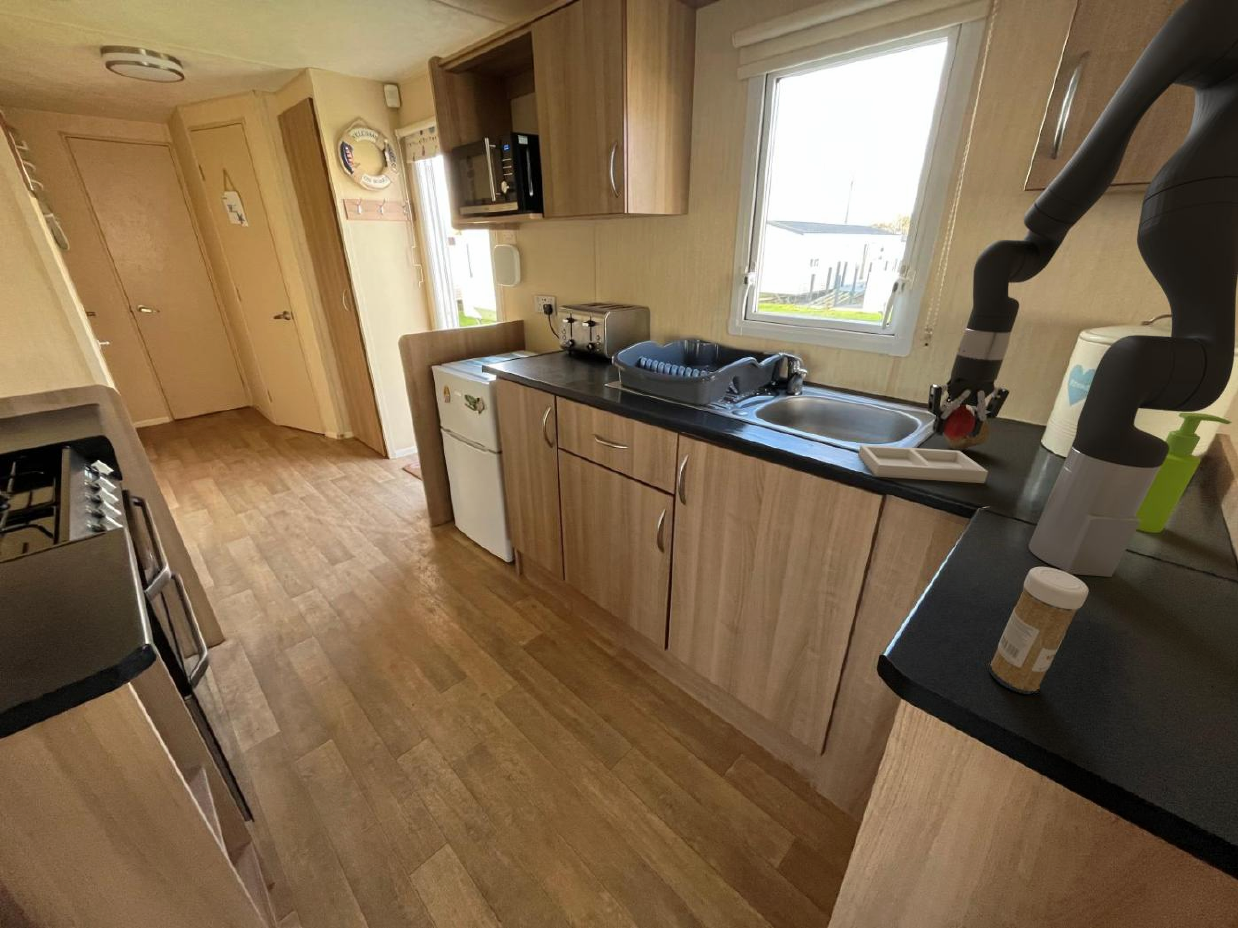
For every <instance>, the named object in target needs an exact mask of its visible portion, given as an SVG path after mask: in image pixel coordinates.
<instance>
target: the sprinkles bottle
mask: <svg viewBox="0 0 1238 928" xmlns="http://www.w3.org/2000/svg"><path fill="white" fill-rule="evenodd" d="M1024 579H1025V580H1024V582H1023V587H1022V592H1021V594H1020V597H1019V599H1018V601H1017V602H1016V605H1015V607H1013V610H1012V613H1011V615H1010V617H1009V619H1008V622H1007V624H1006V626H1005V628H1004V630H1003V632H1002V635H1001V638H1000V640H999V642H998V646H997V650H996V651H995V654H994V656H993V658H992V661H991V664H990V663H989V664H990V665H991V667H992V670H993V671H994V673H995V674H997V676H998V677H1000V678H1001V679H1002V680H1003V681H1005V682H1006V683H1009V685H1011V686H1013V687H1015V688H1017V689H1021V690H1025V691H1026V690H1027V691H1029V692H1030V691H1036V690H1037V689H1039V690H1040V688H1041V686H1039V685H1041V683H1042V681H1043V678H1044V676H1045V675H1046V673H1047V670H1048V669H1050V667H1051V664H1052V663H1053V660H1054V658H1055V656H1056V654H1057V652H1058V650H1059V647H1060V646H1061V644H1062V642H1063V640H1064V638H1065V635H1066V632H1067V631H1068V628H1069V626H1070V624H1071V623H1072V621H1073V618H1074V616H1075V615H1076V612H1077V611H1078V610H1079V609H1081V607H1083V605H1084V603H1085V601H1086V599H1087V597H1088V595H1089V587H1088V586H1087V585H1086V583H1085V582H1084V581H1082V580H1081V579H1080V578H1078V577H1076V576H1074V574H1068V573H1066V572H1064V571H1063V570H1061V569H1057V568H1055V567H1054V568H1053V567H1047V566H1037V567H1033V568H1031V569H1030V570H1029V571H1028V572H1027V575H1026V577H1025V578H1024Z"/></svg>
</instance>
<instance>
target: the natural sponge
mask: <svg viewBox="0 0 1238 928" xmlns="http://www.w3.org/2000/svg"><path fill="white" fill-rule="evenodd" d="M967 409H968V410H970V411H971V412H972V414H973V410H972V408H967ZM990 433H991V432H990V427H989V422H988V420H987V419H986V420H984V421H983V424H982V427H981V430H980V433H979V434H978V435H976V437H975V438H971V437H969V436H967V435H966V436H964V437H962V438H959V439H956V440H950V439H949V438H948V437H947V436H946V435H945V434H944V437H945V440H946V442H947V444H948V446H949V447H950V448H951V450H955V451H963V450H966V449H968V448H970V447H977V446H980V445H982V444H984V443H985V442H987V441H988V439H989V437H990V435H991V434H990Z"/></svg>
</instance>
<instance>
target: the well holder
mask: <svg viewBox="0 0 1238 928" xmlns="http://www.w3.org/2000/svg"><path fill="white" fill-rule="evenodd" d="M857 456H858V457H859V459H860V460H861V461H862V462H863V463H864V465H865V466H866V467H867V468H868V469H869V470H870V472H871V473H872V474H873V475H874V476H875V477H881V478H894V479H895V478H896V479H898V478H899V479H913V480H927V481H928V480H930V481H945V482H961V483H962V482H963V483H974V484H975V483H976V484H977V483H978V484H979V483H980V484H985V482H986V479H987V476H988V473H989V471H988V470H987V469H985V468H984V467H982V466H981V465H980V464H978V463H977V462H976V461H974V460H973V459H971V458H970V457H968V456H967V455H966V454H964V453H963V452H962V451H961V450H954V449H934V448H917V447H901V446H900V447H899V446H885V445H884V446H882V445H881V446H880V445H864V444H863V445H862V444H861V445H859V450H858V454H857Z"/></svg>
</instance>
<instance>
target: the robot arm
mask: <svg viewBox="0 0 1238 928" xmlns="http://www.w3.org/2000/svg"><path fill="white" fill-rule="evenodd" d="M1173 84H1176V85H1178V86H1179V85H1180V86H1184V87H1189V88H1192V90H1194V96H1195V97H1194V99H1195V101H1194V111H1193V115H1192V116H1193V117H1192V120H1191V126H1190V129H1189V131H1188V134H1187V136H1186V137H1185V139H1184V141H1183V142H1182V143H1181V145H1180V146H1179V147H1178V148H1177V149H1176V151H1175V152H1173V154H1172V155H1171V156H1170V157H1169V159H1168V160H1167V161H1166V162H1165V163H1164V164H1163V166H1162V167H1160V169H1159V171H1158V172H1157V173H1156V175H1154V177H1153V179H1152V180H1151V181H1150V183H1149V185H1148V186H1147V189H1146V190H1145V192H1144V196H1143V199H1142V204H1141V211H1140V216H1139V217H1140V218H1139V224H1138V229H1137V237H1136V241H1137V242H1136V243H1137V248H1138V251H1139V254H1140V255H1141V258H1142V261H1144V264H1145V265H1146V267H1147V268H1148V270H1149V272H1150V273H1151V274H1152V276H1153V278H1154V279H1155V280H1156V282H1157V283H1158V284H1159V286H1160V288H1161V289H1162V291H1163V293H1164V294H1165V296H1166V299H1167V302H1168V304H1169V308H1170V312H1171V333H1170V336H1164V335H1163V336H1162V335H1161V336H1160V335H1147V334H1145V335H1143V334H1142V335H1140V334H1136V335H1126V336H1124V337H1122V338H1119V339H1117V340H1116V341H1115V342H1114V343H1112V344H1111V345H1110V346H1109V348H1108V349H1107V350H1106V351H1105V352H1104V354H1103V355H1102V357H1101V359H1100V361H1099V363H1098V365H1097V367H1096V369H1095V372H1094V374H1093V377H1092V380H1091V383H1090V386H1089V389H1088V392H1087V395H1086V397H1085V401H1084V402H1083V403H1084V404H1083V407H1082V409H1081V411H1080V414H1079V417H1078V420H1077V425H1076V432H1075V436H1074V439H1073V441H1072V443H1071V446H1070V449H1069V451H1068V453H1067V455H1066V458H1065V459H1064V462H1063V465H1062V466H1061V469H1060V472H1059V473H1058V476H1057V478H1056V480H1055V482H1054V486H1053V488H1052V490H1051V492H1050V494H1049V497H1048V499H1047V501H1046V504H1045V506H1044V509H1043V510H1042V513H1041V515H1040V518H1039V520H1038V522H1037V525H1036V527H1035V530H1034V532H1033V534H1032V537H1031V538H1030V541H1029V544H1028V549H1029V551H1030V552H1031V553H1032V554H1033V555H1034V556H1036V557H1037V558H1038V559H1040V560H1042V561H1043V562H1045V563H1047V564H1049V565H1051V566H1053V567H1054V568H1055V567H1056V568H1058V569H1059V570H1061V571H1064V572H1066V573H1068V574H1071V575H1081V576H1095V577H1109V578H1111V577H1112V576H1113V574H1114V572H1115V570H1116V569H1117V567H1118V565H1119V563H1120V562H1121V559H1122V557H1123V556H1124V554H1125V552H1126V550H1127V548H1128V547H1129V544H1130V542H1131V540H1132V539H1133V538H1134V535H1135V534H1136V531H1137V528H1138V526H1139V524H1140V520H1139V519H1138V518H1136V517H1135V515H1136V513H1137V511H1138V510H1139V508H1140V506H1141V504H1142V502H1143V500H1144V498H1145V496H1146V494H1147V492H1148V490H1149V489H1150V487H1151V485H1152V483H1153V481H1154V479H1155V477H1156V475H1157V474H1158V472H1159V470H1160V468H1161V466H1162V464H1163V462H1164V460H1165V459H1166V457H1167V455H1168V452H1169V445H1168V444H1167V443H1166V442H1165V441H1166V440H1164V439H1162V438H1160V437H1158V436H1156V435H1154V434H1152V433H1149V432H1147V431H1144V430H1141V429H1140V428H1138V427H1137V426H1136V425H1135V420H1136V417H1137V413H1138V410H1139V409H1141V410H1142V409H1143V410H1144V409H1145V410H1154V411H1164V412H1165V411H1166V412H1177V413H1195V412H1200V411H1202V410H1205V409H1206V408H1208V407H1211V406H1212V405H1213V404H1214V403H1215V402H1216V401H1217V400H1219V398H1220V397H1221V396H1222V394H1223V393H1224V392H1225V390H1226V388H1227V386H1228V384H1229V381H1230V379H1231V376H1232V372H1233V371H1232V370H1233V367H1234V361H1235V351H1236V348H1235V347H1236V309H1237V307H1236V306H1237V303H1236V302H1237V300H1236V299H1237V289H1238V288H1237V287H1238V286H1237V285H1238V0H1186V1H1185V2H1183V4H1182V5H1180V6H1179V7H1178V8H1177V9H1176V11H1174V13H1173V14H1171V16H1170V17H1169V18H1168V19H1167V20H1166V21H1165V22H1164V23H1163V25H1162V26H1161V28H1160V29H1159V30H1158V31H1157V33H1156V34H1155V35H1154V37H1153V38H1152V39H1151V41H1150V42H1149V44H1148V45H1147V47H1145V49H1144V50H1143V52H1142V54H1141V55H1140V56H1139V58H1138V59H1137V61H1136V62H1135V64H1133V67H1132V68H1131V69H1130V71H1129V73H1128V74H1127V75H1126V77H1125V79H1124V80H1123V82H1122V83H1121V84H1120V86H1119V87H1118V89H1117V90H1116V92H1115V93H1114V94H1113V96H1112V98H1111V99H1110V101H1109V102H1108V103H1107V105H1106V107H1105V109H1104V110H1103V111H1102V113H1101V114H1100V116H1099V118H1098V119H1097V120H1096V122H1095V124H1094V126H1092V128H1091V130H1090V131H1089V133H1088V134H1087V136H1086V137H1085V139H1084V140H1083V142H1082V143H1081V145H1080V146H1079V147H1078V148H1077V150H1076V151H1075V153H1074V154H1073V155H1072V157H1071V158H1070V159H1069V160H1068V162H1067V163H1066V164H1065V166H1064V167H1063V168H1062V170H1061V171H1060V172H1059V173H1058V174H1057V176H1056V177H1055V178H1053V180H1052V181H1051V182H1050V183H1049V185H1047V187H1046V188H1045V190H1043V191H1042V193H1041V194H1040V195H1039V197H1038V198H1036V200H1035V202H1033V203H1032V205H1031V206H1030V207H1029V208H1028V209H1027V211H1026V212H1025V215H1024V217H1023V225H1024V226H1025V227H1026V229H1028V231H1027V233H1026V234H1025V235H1024V237H1023V238H1022V239H1021V240H1012V239H1002V240H1001V239H999V240H996V241H993V242H991V243H990V244H988V245H987V246H986V247H985V248H984V249H983V250H982V251H981V253H980V254H979V255H978V257H977V260H976V261H975V264H974V269H973V275H972V276H973V282H972V283H973V284H972V304H973V305H972V309H971V312H970V314H969V319H968V321H967V325H966V329H965V331H964V333H963V335H962V337H961V339H960V341H959V345H958V347H957V352H956V356H955V359H954V362H953V364H952V369H951V372H950V379H949V380H948V381H947V382H946V384H945V383H944V384H939V385H938V384H936V383H931V385H930V386H929V393H928V402H927V412H928V413H930V414H932V415H933V416H935V417H934V421H933V425H932V431H933V433H934V435H936V436H937V437H938V436H939V437H941V436H943V434H944V433H943V432H944V428H945V425H946V422H947V419H946V418H947V417H948V416H949V414H950V413H951V412H952V411H953V410H956V409H957V407H959V406H960V405H966V406H970V408H971V409H972V410H973V416H974V418H975V426H974V429H973V430H972V432H971V433H969V434H968V435H967V436H969V437H971V438H975V437H976V435H978V434H979V433H980V430H981V427H982V424H983V421H984V420H987V419H996V418H997V417H998V415H999V413H1000V411H1001V409H1002V407H1003V405H1004V403H1005V402H1006V400H1007V398H1008V397H1009V394H1010V390H1008V389H1007V388H1004V387H1001V386H995V381H996V380H997V379H998V377H999V373H1000V371H1001V368H1002V364H1003V362H1004V359H1005V356H1006V353H1007V350H1008V347H1009V343H1010V338H1011V333H1012V331H1013V328H1014V325H1015V322H1016V319H1017V316H1018V313H1019V309H1020V302H1019V300H1018V299H1015V298H1014V297H1011V296H1009V284H1012V283H1013V284H1015V283H1016V284H1017V283H1024V282H1027V281H1029V280H1031V279H1033V278H1034V277H1036V276H1037V275H1038V274H1040V273H1041V272H1042V271H1043V270H1044V269H1046V267H1047V266H1048V265H1049V264H1050V263H1051V261H1052V259H1053V257H1054V256H1055V254H1056V252H1057V251H1058V249H1059V248H1060V246H1061V245H1062V244H1063V242H1064V239H1065V238H1066V236H1067V235H1068V233H1069V231H1070V230H1071V229H1072V228H1073V226H1075V225H1076V224H1077V223H1078V222H1079V221H1080V220H1081V219H1082V218H1083V216H1085V214H1086V213H1087V212H1089V210H1090V209H1091V208H1092V207H1093V206H1094V205H1095V204H1096V203H1097V202H1098V201H1099V200H1100V199H1101V198H1102V196H1103V195H1104V194H1105V193H1106V192H1107V190H1108V189H1109V188H1110V187H1111V185H1112V183H1113V181H1114V180H1115V178H1116V176H1117V174H1118V171H1119V170H1120V167H1121V164H1122V162H1123V159H1124V156H1125V154H1126V152H1127V151H1126V150H1127V148H1128V146H1129V143H1130V141H1131V138H1132V136H1133V134H1134V131H1135V130H1136V128H1137V127H1138V124H1140V121H1141V120H1142V118H1143V117H1144V116H1145V114H1146V113H1147V112H1148V110H1149V109H1150V108H1151V107H1152V105H1154V103H1155V102H1156V101H1157V100H1158V99H1159V98H1160V97H1161V96H1162V95H1163V94H1164V92H1165V91H1167V90H1168V88H1170V86H1171V85H1173ZM946 392H947V396H946V397H945V398H944V399H943V400H942V396H944V395H945V393H946ZM989 396H991V397H990V398H989V401H988V403H987V404H986V399H987V397H989Z"/></svg>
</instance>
